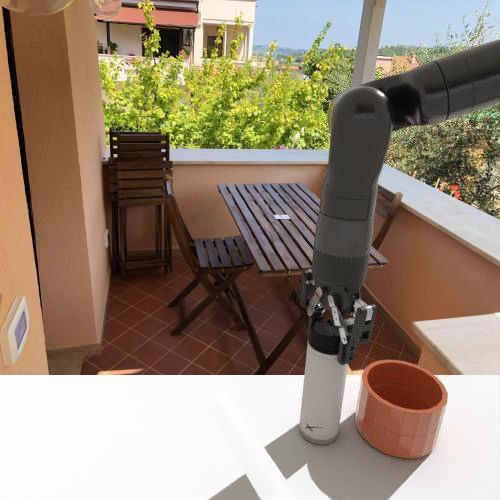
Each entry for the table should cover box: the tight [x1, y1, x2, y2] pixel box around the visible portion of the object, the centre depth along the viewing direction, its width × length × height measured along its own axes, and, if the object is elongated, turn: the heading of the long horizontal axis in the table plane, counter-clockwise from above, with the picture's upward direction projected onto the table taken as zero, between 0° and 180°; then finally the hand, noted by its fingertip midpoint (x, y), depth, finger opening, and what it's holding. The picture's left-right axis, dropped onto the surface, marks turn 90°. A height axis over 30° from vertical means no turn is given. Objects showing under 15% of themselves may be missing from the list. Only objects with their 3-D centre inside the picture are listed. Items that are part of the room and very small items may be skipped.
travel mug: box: [298, 318, 351, 446], centre depth 66 cm, size 6×7×20 cm
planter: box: [354, 359, 449, 460], centre depth 69 cm, size 13×13×9 cm
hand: (328, 348), depth 64 cm, fingers closed on travel mug, 6 cm apart
